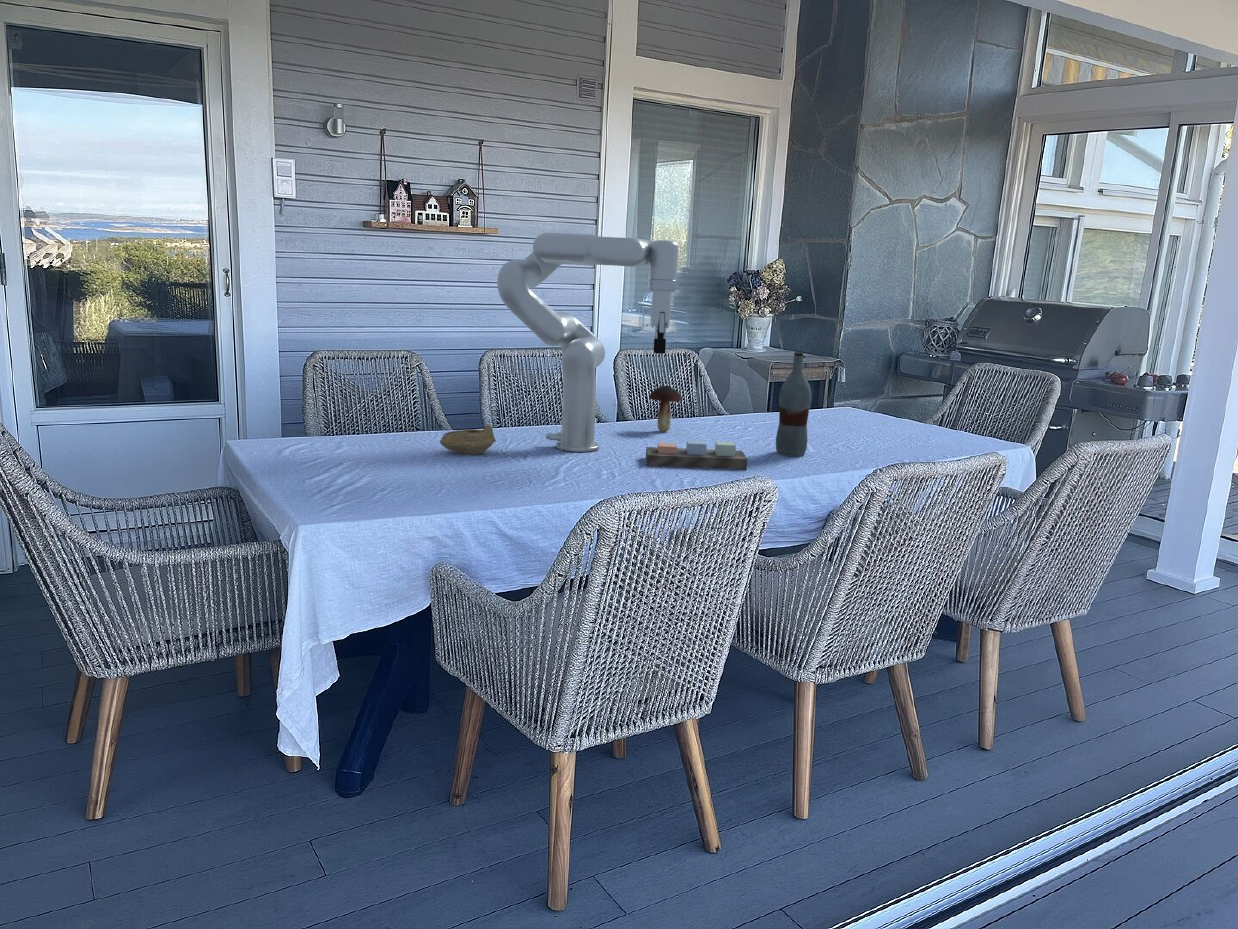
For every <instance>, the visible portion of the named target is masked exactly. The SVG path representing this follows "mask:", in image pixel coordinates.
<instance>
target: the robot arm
mask: <svg viewBox="0 0 1238 929" xmlns="http://www.w3.org/2000/svg"><path fill="white" fill-rule="evenodd" d="M678 261H679V244H678V242H677V241H674V240H666V239H665V240H661V239H657V240H648V239H644V238H638V237H637V238H636V237H616V236H615V237H612V236H601V235H599V236H598V235H594V234H588V233H569V232H568V233H567V232H566V233H565V232H563V233H562V232H544V233H543V232H542V233H540V234H539V235H537V236H536V238H534V240H533V243H532V252H531V253H530V254H529V255H528V256H526V257H525V259H520V258H518V259H517V258H515V259H511V260H509V261H507V262H505V263H504V264H503V265H502V266H501V268H500V270H499V271H498V274H497V281H496V282H497V283H496V284H497V292H498V295H499V297H500V298H501V300H502V301H501V302H502V303H503V304H504V305H505V307H506V308H507V309H509V311H510V312H511V313H513V315H515V316H516V318H518V319H519V320H520V321H521V322H522V323H523V324H524V325H525V326H526V327H527V329H529V330H530V331H532V333H533V334H534V335H535V336H536V337H538V338H539V339H540V341H542V342H543V343H544V344H545V345H546V346H550V347H560V348H561V349H562V350H563V351H562V353H561V370H562V405H561V406H562V409H561V416H562V417H561V430H560V431H559V432H556V433H553V432H546V433H545V435H546V437H545V440H548V441H557V442H556V443H555V447H556V449H559V450H562V451H566V452H574V453H575V452H579V453H582V452H584V453H585V452H595V451H598V450H599V449H600V444H599V443H598V442H596V441H595V426H596V400H597V379H596V368H598V367H599V366H601V364H602V363H603V362H604V360H605V358H606V350H605V346H604V344H603V343H602V341H601V340H600V339H599V338H598V337H597V336H596V335H595V334H594V333H593V332H592V331H591V330H589V329H588V328H587V327H586V326H585V325H584V324H583V323H582V322H581V321H579V319H577V318H576V317H575V316H573V315H572V314H571V313H569V312H565V311H556V310H554V309H553V308H552V307H550V306H549V305H548V304H547V303H546V302H545V301H544V300H543V299H542V298H541V297H539V295H537V294H535V293H534V292H533V291H532V290H531V289H534V288H536V287H537V286H539V285H541V284H542V283H543V282H544V281H545V280H546V279H547V278H548V277H549V276H551V275H552V274H553V273H554V272H555V271H556V270H557V269H559V267H561V265H572V266H573V265H574V266H590V267H591V266H617V267H633V268H634V267H647V266H649V283H648V291H649V292H652V293H651V304H650V307H651V308H650V324H649V326H650V327H651V328H652V329H654V328H655V329H654V339H653V353H654V354H656V355H657V354H660V355H662V354H663V355H665V354H666V346H667V345H666V344H667V340H666V335H667V334H666V333H667V332H666V331H667V330H668V328H669V327H670V320H671V310H672V299H673V298H672V297H673V296H672V294H673V293H677V286H678V284H677V281H678V267H679V266H678V265H679V263H678Z"/></svg>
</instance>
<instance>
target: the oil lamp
mask: <svg viewBox="0 0 1238 929" xmlns="http://www.w3.org/2000/svg"><path fill="white" fill-rule="evenodd" d="M493 430H494V429H493V427H492V425H491V424H486V425H485V426H484V427H483V429H475V428H473V429H472V428H468V429H467V428H466V429H460V430H453V431H448V432H445V433H444V434H443V435H442V437H441V439H440V441H439V442H440V445H441V446H442V447H444V448H445V450H449V451H452V452H453V451H454V452H459V453H460V454H462V455H465V454H470V455H469V456H476V454H477V455H481V454H483V453H485V452H486V451H487V450H488V449H489V448H491V447H492V445H493V443H495V442H496V441H497V440H496V438H495V436H494V431H493Z"/></svg>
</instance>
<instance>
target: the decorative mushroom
mask: <svg viewBox="0 0 1238 929" xmlns="http://www.w3.org/2000/svg"><path fill="white" fill-rule="evenodd" d="M682 396H683V395H681V393H680V392H679V391H677V390H676V389H675V388H673V387H671V386H669V385H661V386H659V387H657V388H655V389H654V390H653V391H652V392H650V394H649V396H648V399H650V400H654V401H660V403H659V407H658V414H657V422H656V424H657V429H658V430H659V432H663V433H665V432H668V431H669V430H670V429H671V416H672V415H671V414H672V413H671V406H670V402H680V401H681V402H682V401H683V399H684V398H683V397H682Z"/></svg>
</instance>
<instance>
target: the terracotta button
mask: <svg viewBox="0 0 1238 929" xmlns="http://www.w3.org/2000/svg"><path fill="white" fill-rule="evenodd" d="M657 447H658V450H657V453H660V454H677V448H678V446H677V443H673V442H671V443H670V442H657Z"/></svg>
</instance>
